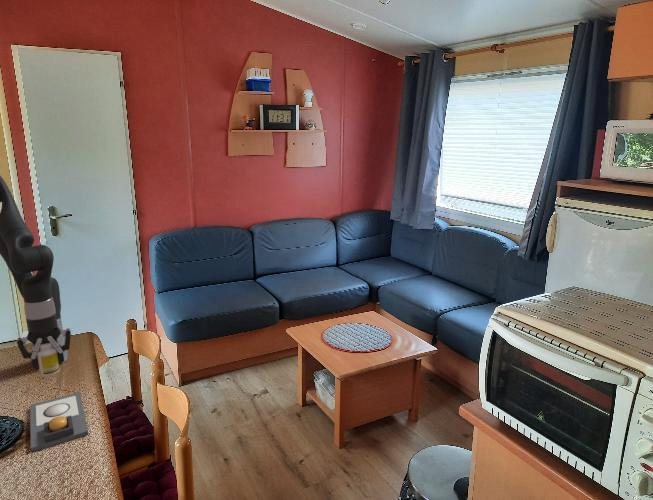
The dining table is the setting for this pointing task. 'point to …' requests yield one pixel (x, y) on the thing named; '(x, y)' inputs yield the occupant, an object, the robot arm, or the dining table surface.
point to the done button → (58, 423)
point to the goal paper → (56, 410)
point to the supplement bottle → (47, 360)
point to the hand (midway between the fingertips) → (49, 365)
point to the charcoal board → (46, 438)
